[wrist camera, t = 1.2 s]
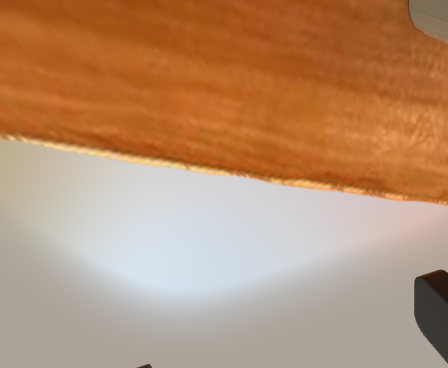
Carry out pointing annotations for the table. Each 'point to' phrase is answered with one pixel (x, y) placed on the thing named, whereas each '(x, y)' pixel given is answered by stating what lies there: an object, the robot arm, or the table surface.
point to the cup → (430, 17)
